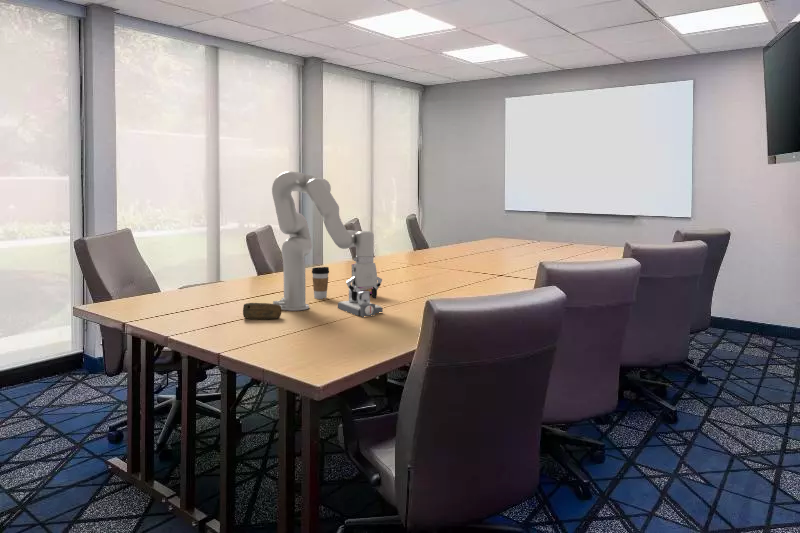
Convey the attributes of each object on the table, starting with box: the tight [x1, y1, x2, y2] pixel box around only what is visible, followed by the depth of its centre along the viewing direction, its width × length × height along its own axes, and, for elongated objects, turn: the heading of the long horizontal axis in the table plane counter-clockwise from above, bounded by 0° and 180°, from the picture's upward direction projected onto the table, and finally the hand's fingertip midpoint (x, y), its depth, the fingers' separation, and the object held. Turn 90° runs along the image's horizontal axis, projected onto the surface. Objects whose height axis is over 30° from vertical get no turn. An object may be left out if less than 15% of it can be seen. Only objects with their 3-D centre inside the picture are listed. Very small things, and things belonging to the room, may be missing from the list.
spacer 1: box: [348, 288, 360, 303], centre depth 263 cm, size 5×5×6 cm
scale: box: [337, 300, 384, 318], centre depth 258 cm, size 12×22×5 cm, turn 33°
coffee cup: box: [311, 266, 330, 300], centre depth 288 cm, size 8×8×15 cm
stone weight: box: [242, 302, 282, 320], centre depth 240 cm, size 15×7×7 cm, turn 100°
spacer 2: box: [358, 291, 371, 306], centre depth 256 cm, size 5×5×6 cm
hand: (364, 299), depth 256 cm, fingers open, 9 cm apart
